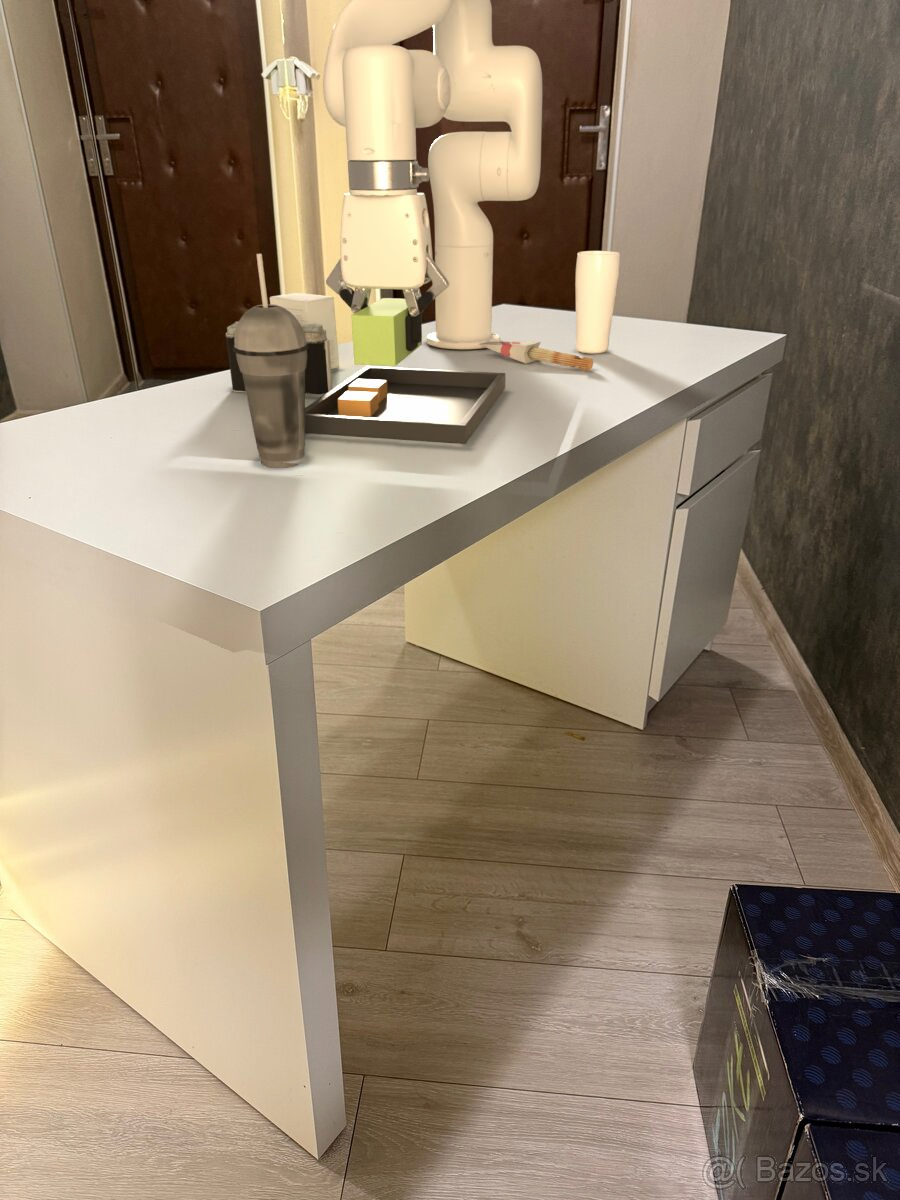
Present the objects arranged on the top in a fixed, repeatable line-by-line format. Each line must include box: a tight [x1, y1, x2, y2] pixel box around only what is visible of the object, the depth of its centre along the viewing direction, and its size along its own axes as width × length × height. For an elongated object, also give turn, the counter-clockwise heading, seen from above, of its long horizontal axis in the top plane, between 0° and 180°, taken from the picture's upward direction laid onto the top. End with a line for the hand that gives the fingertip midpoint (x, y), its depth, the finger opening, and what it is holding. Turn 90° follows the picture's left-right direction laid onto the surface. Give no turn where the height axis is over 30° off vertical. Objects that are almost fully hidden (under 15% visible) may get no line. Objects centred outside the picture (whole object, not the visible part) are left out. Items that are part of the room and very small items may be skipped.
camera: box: [225, 320, 333, 395], centre depth 109 cm, size 15×7×10 cm, turn 72°
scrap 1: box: [348, 379, 387, 403], centre depth 106 cm, size 4×4×2 cm
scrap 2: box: [338, 391, 379, 417], centre depth 101 cm, size 4×4×2 cm
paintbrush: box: [479, 341, 594, 371], centre depth 128 cm, size 4×3×20 cm
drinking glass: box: [574, 250, 621, 355], centre depth 133 cm, size 7×7×15 cm
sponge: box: [350, 297, 423, 367], centre depth 99 cm, size 12×5×6 cm, turn 167°
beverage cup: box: [233, 253, 308, 469], centre depth 82 cm, size 7×7×20 cm
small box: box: [269, 292, 340, 370], centre depth 122 cm, size 8×6×10 cm
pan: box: [305, 365, 507, 445], centre depth 102 cm, size 26×20×3 cm
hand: (389, 346), depth 100 cm, fingers closed on sponge, 5 cm apart
